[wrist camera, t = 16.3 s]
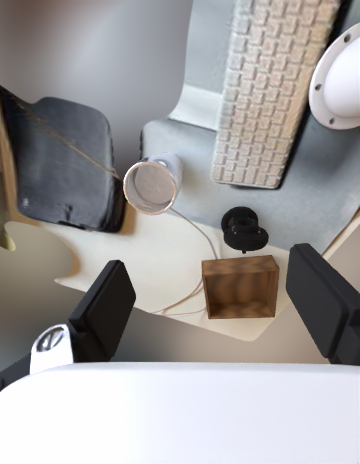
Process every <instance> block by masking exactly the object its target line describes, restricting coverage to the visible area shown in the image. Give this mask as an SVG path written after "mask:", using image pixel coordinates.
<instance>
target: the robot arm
mask: <svg viewBox="0 0 360 464" xmlns="http://www.w3.org/2000/svg"><path fill="white" fill-rule="evenodd" d="M344 39H345V42H344ZM315 87H317V89H316V90H315ZM309 104H310V109H311V111H312V114H313V116H314V117H315V119H316V120H317V121H318V122H319V123H320V124H322V125H323V126H325V127H328V128H330V129H338V130H339V129H350V128H355V127H358V126H360V22H359V23H358V24H356V25H354V26H352V27H351V28H350V29H348V30H347V31H346V32H344V33H343V34H342V35H341V36H340V37H338V38H337V39H336V40H335V41H334V42H333V43H332V44H331V46H330V47H329V48H328V49H327V50H326V52H325V53H324V55H323V56H322V58H321V59H320V61H319V63H318V65H317V67H316V69H315V71H314V74H313V77H312V80H311V83H310V89H309ZM329 121H330V123H329ZM286 291H287V293H288V295H289V297H290V299H291V300H292V302H293V304H294V306H295V308H296V309H297V311H298V313H299V315H300V317H301V318H302V320H303V322H304V324H305V326H306V327H307V329H308V331H309V333H310V334H311V336H312V338H313V340H314V342H315V344H316V345H317V347H318V349H319V351H320V353H321V354H322V356H323V357H324V358H328V359H329V362H330V363H331V365H330V364H329V365H328V364H295V363H294V364H291V363H206V362H205V363H204V362H199V363H197V362H195V363H194V362H110V359H111V357H113V356H114V355H115V352H116V350H117V347H118V344H119V342H120V339H121V337H122V334H123V332H124V329H125V326H126V324H127V321H128V318H129V315H130V313H131V311H132V308H133V305H134V303H135V300H136V294H135V291H134V288H133V286H132V283H131V281H130V278H129V275H128V273H127V270H126V268H125V265H124V263H123V262H121V261H120V260H111V261H109V262H108V263H107V265H106V266H105V267H104V269H103V270H102V272H101V273H100V274H99V276H98V277H97V279H96V280H95V282H94V283H93V284H92V286H91V287H90V289H89V290H88V291H87V293H86V294H85V296H84V297H83V299H82V300H81V301H80V303H79V304H78V306H77V307H76V309H75V310H74V312H73V313H72V314H71V316H70V317H69V318H68V320H69V322H68V324H67V325H65V324H58V325H55V326H52V327H51V328H49V329H47V330H46V331H45V332H43V333H42V334H41V335H40V336H39V337H38V338H37V340H36V341H35V343H34V345H33V348H32V352H31V353H30V354H28V355H26V356H25V357H23V358H22V359H20V360H19V361H17V362H15V363H14V364H12V365H11V366H9V367H8V368H6V369H4V370H3V371H2V372H0V464H360V293H359V292H358V291H356V289H355V288H353V286H352V285H350V283H348V281H346V280H345V278H343V277H342V276H341V275H340V274H339V273H338V272H337V271H336V270H335V269H334V268H332V266H331V265H330V264H329V263H328V262H327V261H326V260H325V259H324V258H323V257H322V256H321V255H320V254H319V253H318V252H317V251H316V250H315V249H314V248H313V247H312V246H311V245H310V244H308V243H302V244H295V245H294V247H291V248H290V254H289V262H288V270H287V278H286Z"/></svg>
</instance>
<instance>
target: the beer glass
mask: <svg viewBox="0 0 360 464" xmlns="http://www.w3.org/2000/svg"><path fill="white" fill-rule="evenodd" d="M183 172H184V167H183V163H182V161H181V160H180V158H179V157H178V156H177V155H175V154H173V153H169V152H165V153H162V154H160V155H153V156H149V157H146V158H144V159H143V160H141V161H139V162H138V163H137V164H136V165H134V166H133V167H132V168H131V169H130V170H129V171H128V172H127V174H126V176H125V179H124V193H125V196H126V198H127V200H128V202H129V203H130V204H131V205H132V206H133V207H134V208H135V209H136V210H138V211H139V212H141V213H144V214H147V215H158V214H162V213H164V212H166V211H167V210H168V209H170V208H171V206H172V205H173V203H174V201H175V200H176V198H177V196H178V194H179V192H180V189H181V184H182V176H183Z"/></svg>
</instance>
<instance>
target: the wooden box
mask: <svg viewBox="0 0 360 464" xmlns="http://www.w3.org/2000/svg"><path fill="white" fill-rule="evenodd" d="M279 270H280V269H279V267H278V265H277V264H276V262H275V260H274V259H273V257H272V255H268V256H255V257H243V258H231V259H219V260H206V261H202V278H203V285H204V292H205V299H206V305H207V312H208V319H232V318H265V317H275V310H276V300H277V290H278V280H279Z"/></svg>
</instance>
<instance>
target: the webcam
mask: <svg viewBox="0 0 360 464" xmlns="http://www.w3.org/2000/svg"><path fill="white" fill-rule="evenodd" d="M231 217H233V225H232V226H230V227H228V222H229V220H230V218H231ZM248 217H249V218H248ZM258 224H259V223H258V217H257V215H256V213H255V212H254V211H253V210H251V209H250V208H247V207H235V208H233V209H230V210H229V211H228V212H227V213H226V214H225V215H224V216H223V218H222V222H221V227H222V230H223V232H224V241H225V243H226V244H227V245H228V246H230V247H231V248H233V249H236V250H242V253H243V254H245V253H246V251H255V250H259V249H262V248H263V247H265V246H266V244H267V243H268V239H269V236H268V233H267V232H266V231H265V230H264V229H263V228H261V227H259V226H258Z"/></svg>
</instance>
